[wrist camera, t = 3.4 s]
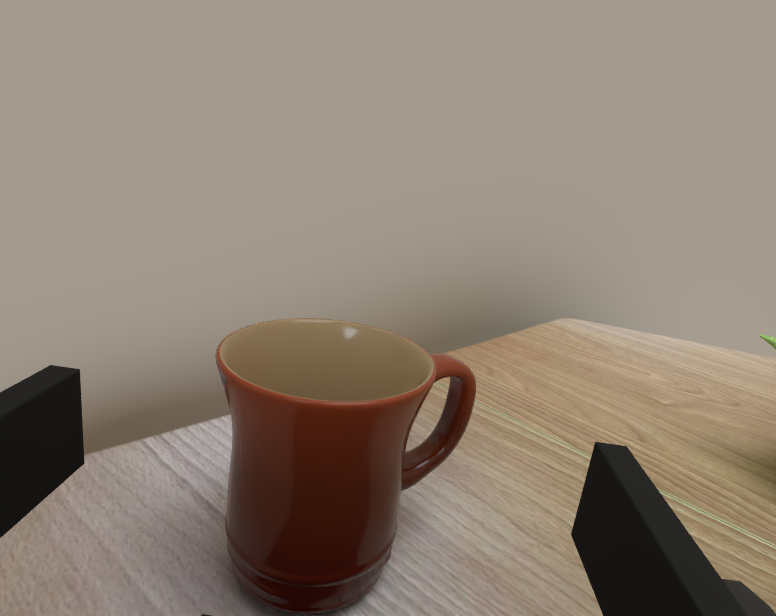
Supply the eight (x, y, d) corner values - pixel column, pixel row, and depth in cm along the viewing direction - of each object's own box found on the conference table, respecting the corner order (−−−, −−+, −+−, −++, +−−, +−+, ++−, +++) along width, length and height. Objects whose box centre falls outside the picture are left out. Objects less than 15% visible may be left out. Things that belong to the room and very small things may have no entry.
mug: (232, 681, 19) (246, 418, 16) (193, 519, 27) (198, 321, 24) (498, 583, 25) (545, 380, 22) (404, 475, 33) (429, 312, 30)
